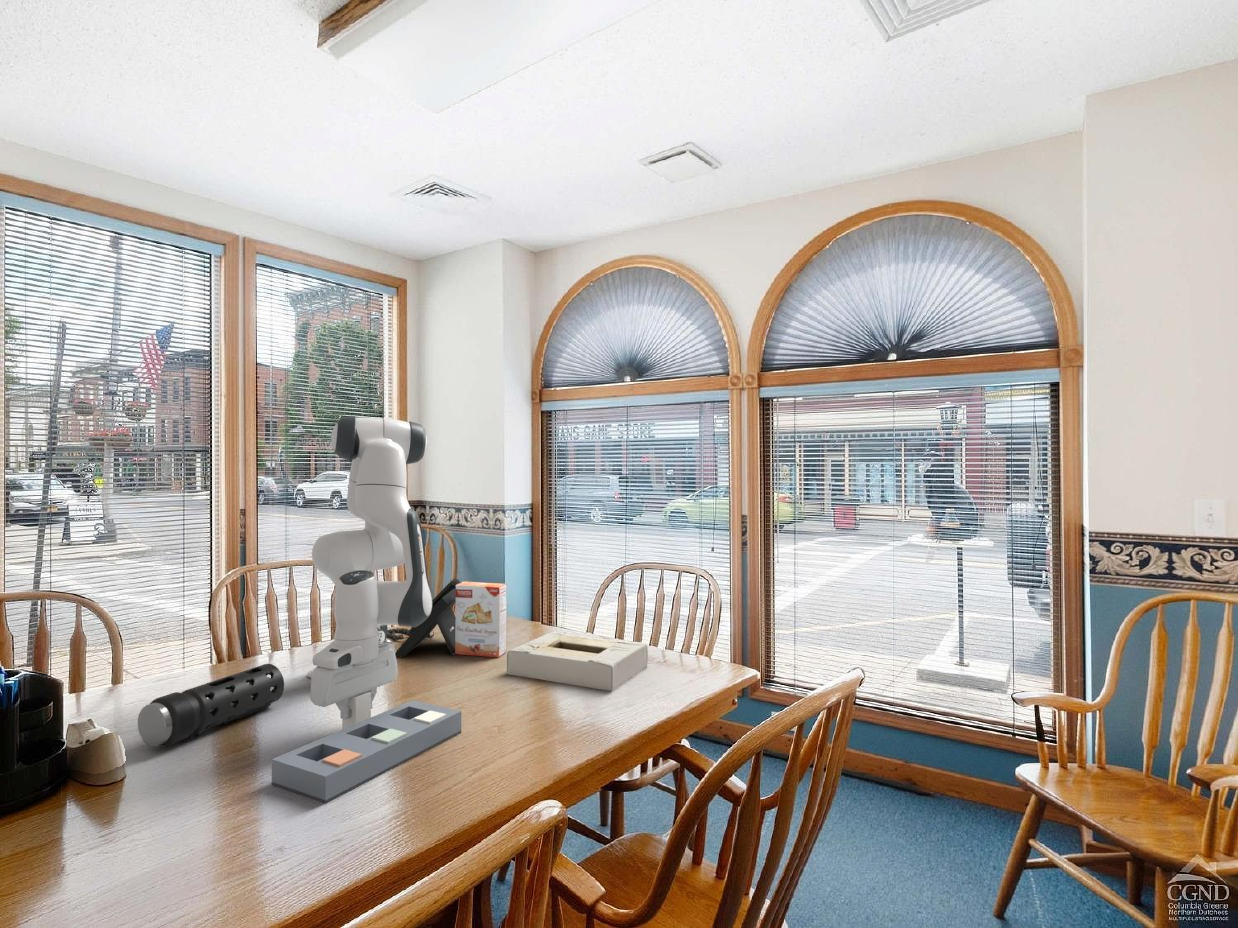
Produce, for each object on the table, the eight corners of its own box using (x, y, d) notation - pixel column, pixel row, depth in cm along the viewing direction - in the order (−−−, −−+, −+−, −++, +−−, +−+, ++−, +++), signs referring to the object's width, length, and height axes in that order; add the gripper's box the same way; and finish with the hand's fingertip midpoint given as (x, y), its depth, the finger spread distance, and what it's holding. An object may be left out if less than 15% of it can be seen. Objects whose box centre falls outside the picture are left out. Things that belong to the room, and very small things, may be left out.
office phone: (389, 632, 230) (389, 572, 230) (473, 633, 229) (473, 572, 229) (353, 658, 200) (353, 588, 200) (450, 658, 200) (450, 589, 200)
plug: (342, 732, 146) (342, 694, 145) (357, 726, 149) (357, 689, 149) (355, 736, 144) (355, 697, 144) (370, 729, 147) (370, 692, 147)
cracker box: (454, 655, 203) (454, 584, 203) (463, 649, 209) (463, 580, 208) (499, 658, 200) (499, 586, 199) (506, 652, 206) (507, 582, 205)
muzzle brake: (285, 709, 159) (285, 664, 159) (168, 758, 133) (168, 704, 133) (254, 703, 163) (255, 659, 163) (134, 750, 137) (134, 698, 136)
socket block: (271, 784, 122) (271, 756, 122) (412, 720, 152) (412, 698, 152) (325, 803, 116) (325, 774, 116) (461, 732, 146) (461, 709, 146)
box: (505, 677, 185) (613, 693, 172) (505, 648, 185) (613, 662, 172) (549, 655, 206) (648, 669, 193) (549, 629, 206) (648, 641, 193)
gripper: (383, 636, 157) (383, 696, 157) (305, 659, 139) (305, 727, 139) (404, 639, 154) (404, 701, 154) (326, 663, 136) (326, 733, 136)
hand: (356, 713), depth 146 cm, fingers closed on plug, 4 cm apart
